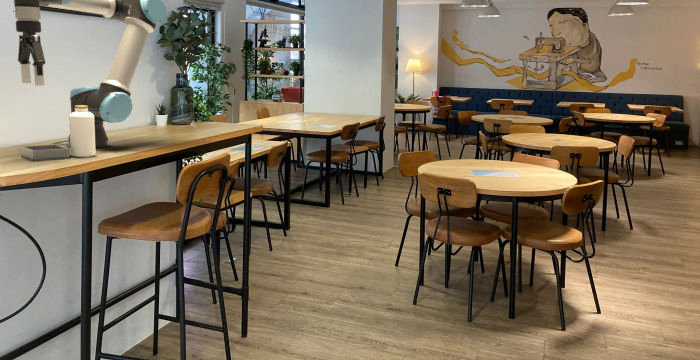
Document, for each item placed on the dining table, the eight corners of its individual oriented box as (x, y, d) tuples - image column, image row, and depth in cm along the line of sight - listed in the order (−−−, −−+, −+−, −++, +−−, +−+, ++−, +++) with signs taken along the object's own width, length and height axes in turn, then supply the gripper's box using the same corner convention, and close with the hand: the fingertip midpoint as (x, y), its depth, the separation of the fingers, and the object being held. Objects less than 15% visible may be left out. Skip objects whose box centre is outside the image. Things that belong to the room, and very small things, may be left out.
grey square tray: (56, 153, 230) (56, 144, 230) (69, 158, 222) (69, 148, 221) (21, 156, 222) (20, 146, 221) (33, 161, 214) (33, 151, 213)
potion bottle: (77, 153, 233) (75, 104, 229) (99, 154, 232) (97, 105, 229) (66, 157, 224) (64, 106, 221) (89, 158, 224) (87, 107, 221)
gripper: (4, 20, 218) (10, 82, 223) (28, 19, 201) (33, 86, 205) (28, 21, 224) (32, 81, 228) (52, 20, 206) (57, 86, 210)
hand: (33, 84), depth 217 cm, fingers open, 13 cm apart
